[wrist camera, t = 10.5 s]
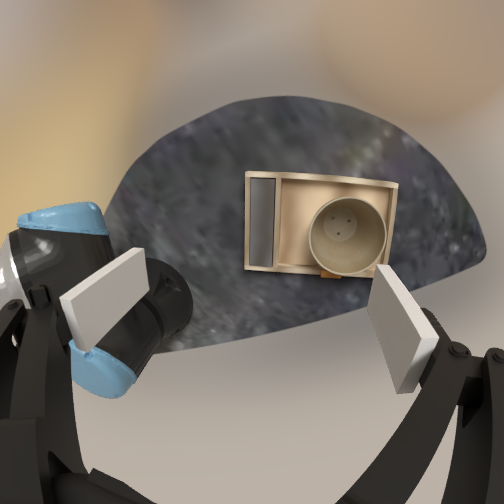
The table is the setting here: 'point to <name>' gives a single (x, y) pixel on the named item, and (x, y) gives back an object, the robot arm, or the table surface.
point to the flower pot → (347, 235)
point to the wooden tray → (303, 217)
